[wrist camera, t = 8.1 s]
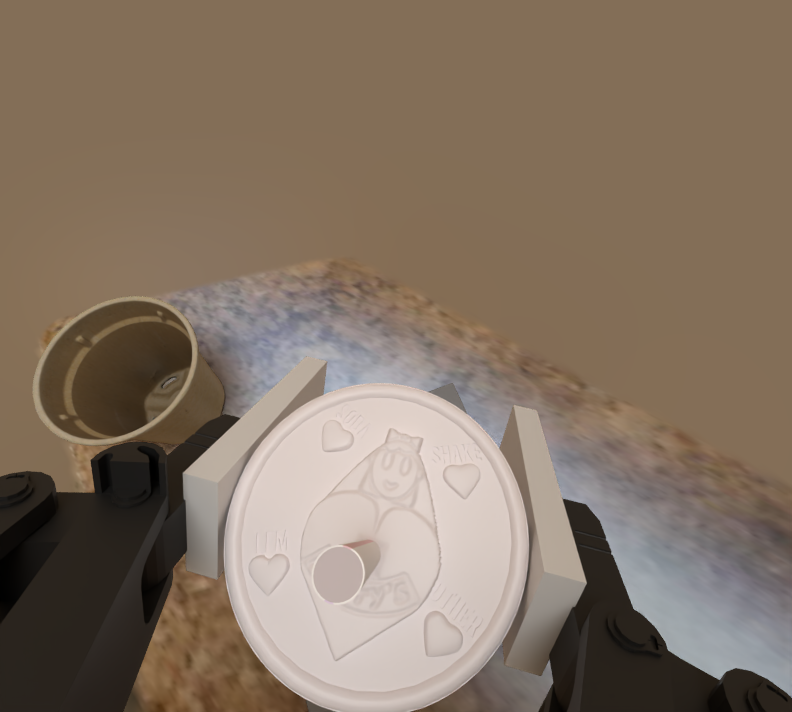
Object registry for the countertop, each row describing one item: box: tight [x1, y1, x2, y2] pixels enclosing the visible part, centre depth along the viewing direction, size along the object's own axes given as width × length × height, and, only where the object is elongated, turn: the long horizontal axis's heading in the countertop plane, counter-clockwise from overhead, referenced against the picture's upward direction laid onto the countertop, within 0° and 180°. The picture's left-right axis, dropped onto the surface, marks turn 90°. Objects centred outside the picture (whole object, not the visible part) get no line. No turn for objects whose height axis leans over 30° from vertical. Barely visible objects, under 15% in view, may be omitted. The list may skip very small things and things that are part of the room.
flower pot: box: [33, 296, 225, 446], centre depth 28 cm, size 9×9×9 cm
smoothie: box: [224, 383, 529, 712], centre depth 11 cm, size 6×6×14 cm
